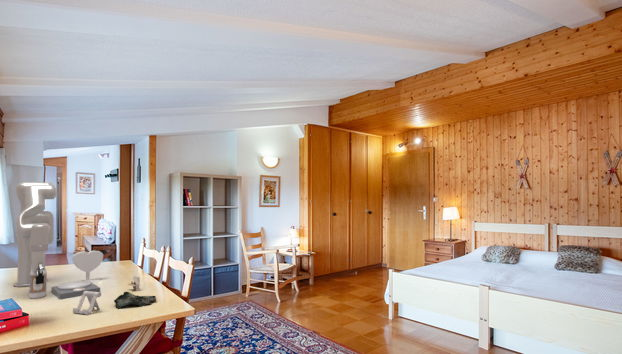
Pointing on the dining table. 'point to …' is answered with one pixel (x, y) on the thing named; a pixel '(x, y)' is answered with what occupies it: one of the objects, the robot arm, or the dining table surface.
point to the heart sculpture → (88, 262)
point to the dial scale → (74, 289)
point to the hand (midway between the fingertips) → (38, 282)
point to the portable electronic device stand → (92, 301)
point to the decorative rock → (133, 300)
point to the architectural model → (135, 283)
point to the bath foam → (37, 285)
